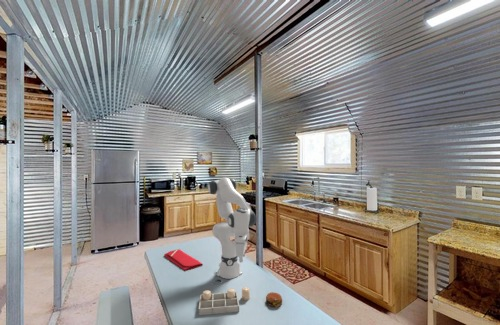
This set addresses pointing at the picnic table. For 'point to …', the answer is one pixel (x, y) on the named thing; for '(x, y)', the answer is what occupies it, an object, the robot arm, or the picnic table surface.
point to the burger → (274, 299)
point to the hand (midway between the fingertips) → (242, 259)
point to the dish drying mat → (182, 260)
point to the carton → (218, 304)
